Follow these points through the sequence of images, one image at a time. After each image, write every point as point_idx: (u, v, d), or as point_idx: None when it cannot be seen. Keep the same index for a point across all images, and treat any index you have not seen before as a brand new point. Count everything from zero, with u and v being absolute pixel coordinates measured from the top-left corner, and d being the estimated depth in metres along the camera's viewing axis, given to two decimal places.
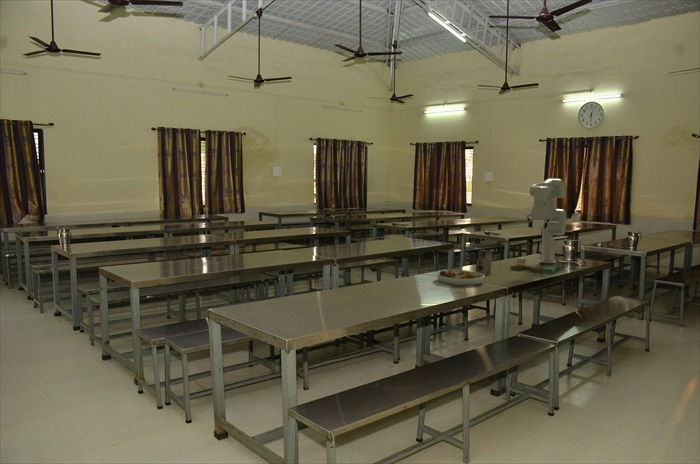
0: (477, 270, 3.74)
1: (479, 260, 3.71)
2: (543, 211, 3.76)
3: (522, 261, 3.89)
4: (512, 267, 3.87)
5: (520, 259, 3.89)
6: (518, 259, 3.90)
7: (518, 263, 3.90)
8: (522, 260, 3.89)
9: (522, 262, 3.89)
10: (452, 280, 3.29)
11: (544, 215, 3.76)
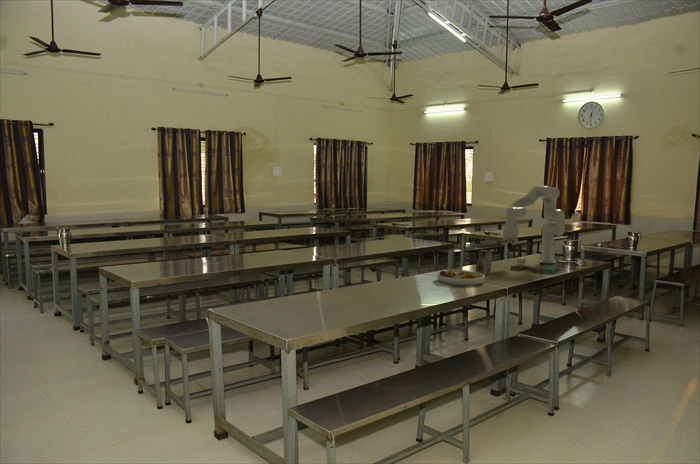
0: (477, 270, 3.74)
1: (479, 260, 3.71)
2: (514, 231, 3.90)
3: (522, 261, 3.89)
4: (512, 267, 3.87)
5: (520, 259, 3.89)
6: (518, 259, 3.90)
7: (518, 263, 3.90)
8: (522, 260, 3.89)
9: (522, 262, 3.89)
10: (452, 280, 3.29)
11: (515, 235, 3.90)
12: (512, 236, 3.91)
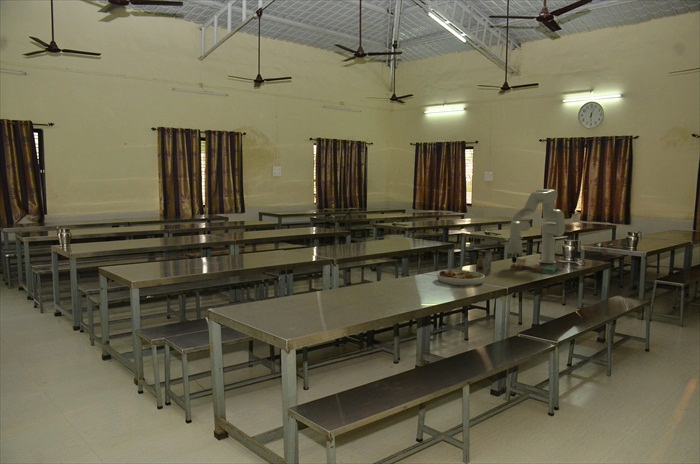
0: (477, 270, 3.74)
1: (479, 259, 3.71)
2: (519, 245, 3.89)
3: (522, 261, 3.89)
4: (512, 267, 3.87)
5: (520, 259, 3.89)
6: (518, 259, 3.90)
7: (518, 263, 3.90)
8: (522, 260, 3.89)
9: (522, 262, 3.89)
10: (452, 280, 3.29)
11: (520, 249, 3.89)
12: (516, 250, 3.90)
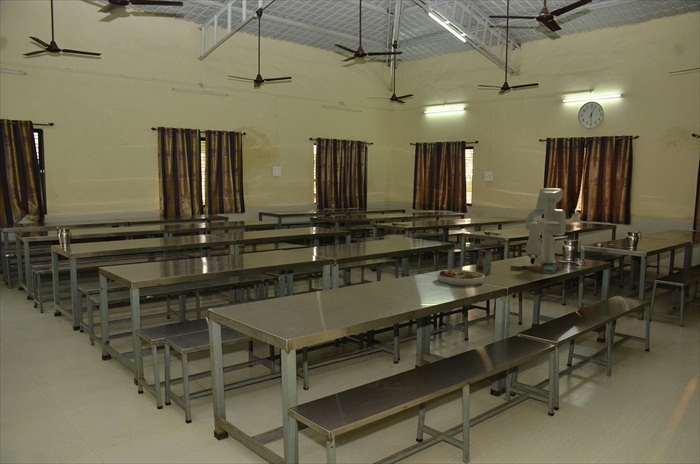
0: (477, 270, 3.74)
1: (479, 260, 3.71)
2: (538, 246, 3.82)
3: (539, 263, 3.82)
4: (512, 267, 3.87)
5: (538, 260, 3.82)
6: (536, 259, 3.83)
7: (535, 263, 3.84)
8: (540, 262, 3.81)
9: (539, 264, 3.82)
10: (452, 280, 3.29)
11: (538, 250, 3.82)
12: (535, 251, 3.83)
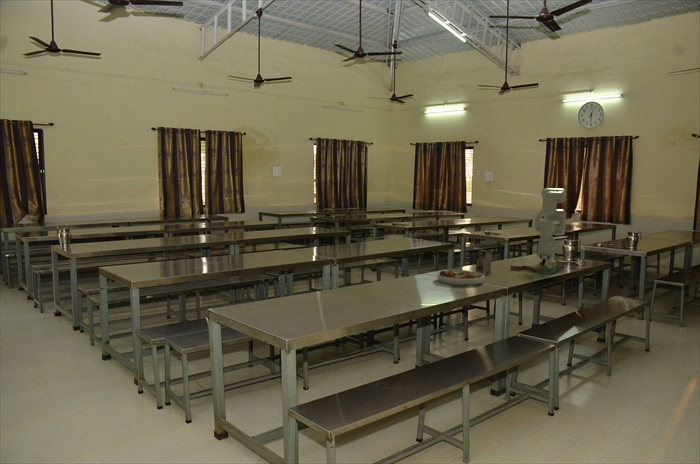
0: (477, 270, 3.74)
1: (479, 260, 3.71)
2: (549, 247, 3.78)
3: (550, 264, 3.77)
4: (512, 267, 3.87)
5: (548, 261, 3.77)
6: (547, 260, 3.78)
7: (545, 264, 3.79)
8: (550, 263, 3.77)
9: (549, 265, 3.77)
10: (452, 280, 3.29)
11: (550, 251, 3.78)
12: (547, 252, 3.79)
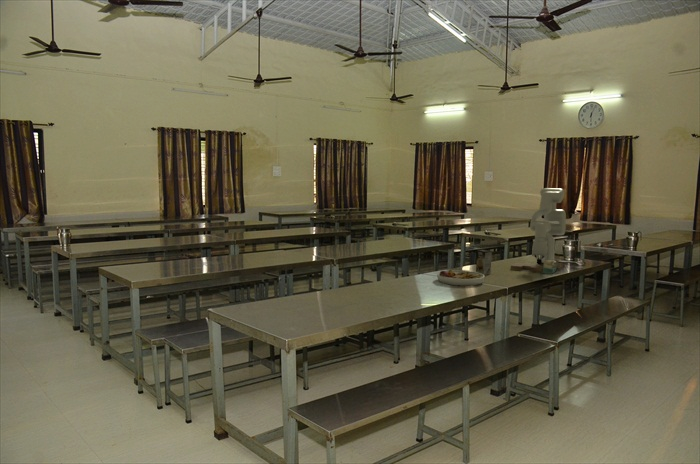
0: (477, 270, 3.74)
1: (479, 260, 3.71)
2: (544, 247, 3.80)
3: (548, 264, 3.78)
4: (512, 267, 3.87)
5: (546, 262, 3.79)
6: (545, 262, 3.80)
7: (545, 266, 3.80)
8: (548, 263, 3.78)
9: (549, 265, 3.77)
10: (452, 280, 3.29)
11: (545, 251, 3.81)
12: (542, 252, 3.82)
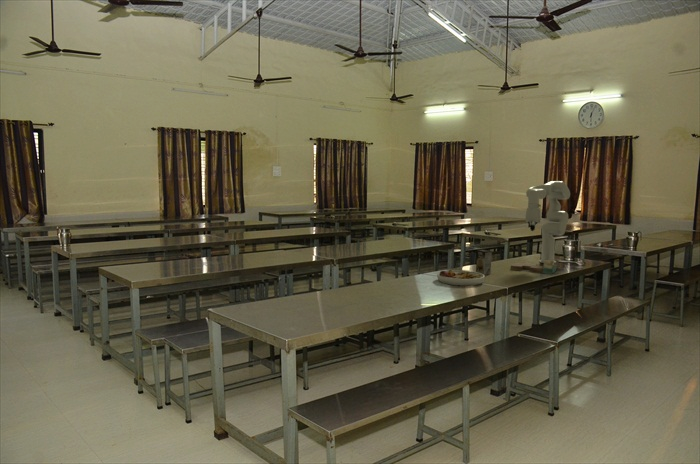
0: (477, 270, 3.74)
1: (479, 260, 3.71)
2: (537, 213, 3.91)
3: (548, 264, 3.78)
4: (512, 267, 3.87)
5: (546, 262, 3.79)
6: (545, 262, 3.80)
7: (545, 266, 3.80)
8: (548, 263, 3.78)
9: (549, 265, 3.77)
10: (452, 280, 3.29)
11: (538, 217, 3.91)
12: (535, 218, 3.92)
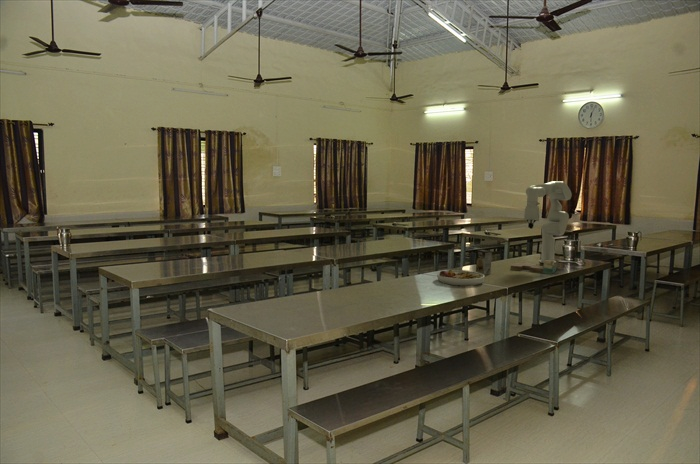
0: (477, 270, 3.74)
1: (479, 260, 3.71)
2: (536, 211, 3.93)
3: (548, 264, 3.78)
4: (512, 267, 3.87)
5: (546, 262, 3.79)
6: (545, 262, 3.80)
7: (545, 266, 3.80)
8: (548, 263, 3.78)
9: (549, 265, 3.77)
10: (452, 280, 3.29)
11: (537, 214, 3.93)
12: (533, 216, 3.94)
